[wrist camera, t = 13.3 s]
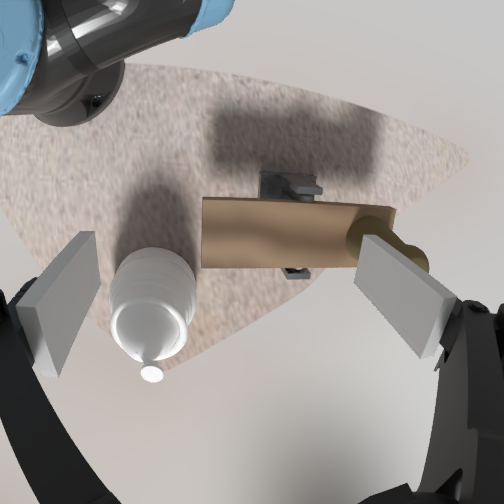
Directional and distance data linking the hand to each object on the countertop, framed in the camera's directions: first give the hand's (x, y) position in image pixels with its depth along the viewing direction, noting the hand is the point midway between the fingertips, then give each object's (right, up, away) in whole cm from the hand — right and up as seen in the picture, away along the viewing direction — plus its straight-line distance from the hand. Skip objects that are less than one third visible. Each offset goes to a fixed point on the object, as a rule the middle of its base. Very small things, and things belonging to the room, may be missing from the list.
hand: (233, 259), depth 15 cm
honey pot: (-14, -5, +33) cm, 37 cm away
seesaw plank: (+7, +3, +24) cm, 25 cm away
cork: (+15, +2, +24) cm, 29 cm away
